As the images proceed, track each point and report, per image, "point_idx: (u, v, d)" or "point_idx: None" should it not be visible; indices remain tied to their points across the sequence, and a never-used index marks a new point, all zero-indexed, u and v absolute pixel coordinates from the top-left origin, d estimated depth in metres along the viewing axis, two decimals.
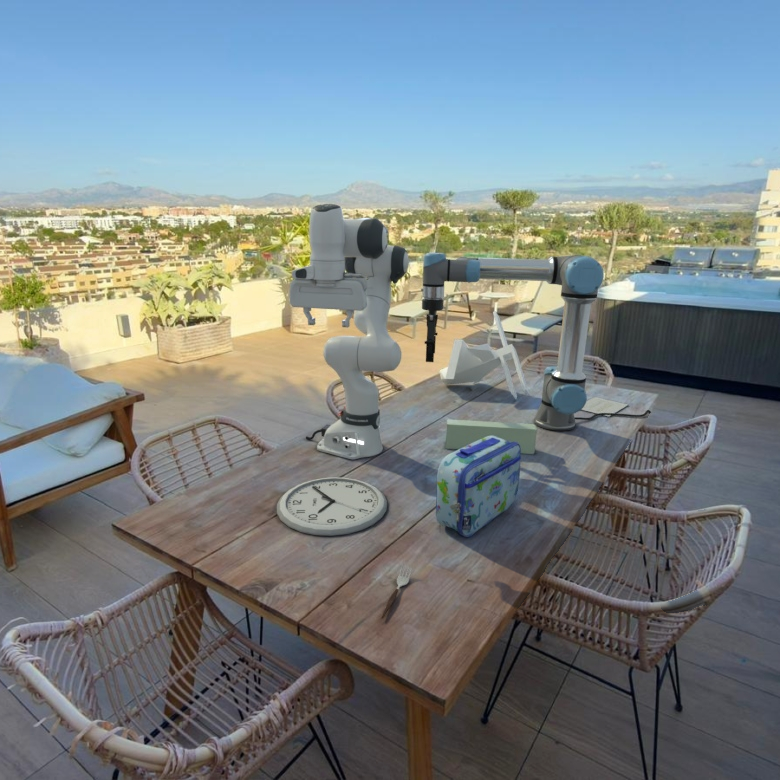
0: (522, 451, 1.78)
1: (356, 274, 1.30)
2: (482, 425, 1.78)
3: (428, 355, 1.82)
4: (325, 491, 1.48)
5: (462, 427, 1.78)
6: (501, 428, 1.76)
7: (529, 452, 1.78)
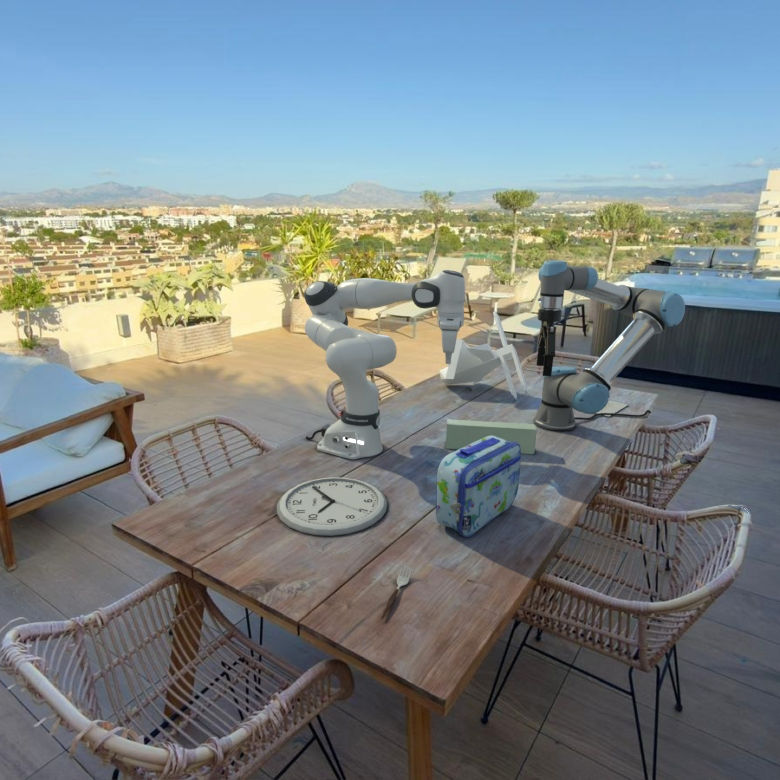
0: (522, 451, 1.78)
1: None
2: (482, 425, 1.78)
3: (546, 368, 1.72)
4: (325, 491, 1.48)
5: (462, 427, 1.78)
6: (501, 428, 1.76)
7: (529, 452, 1.78)
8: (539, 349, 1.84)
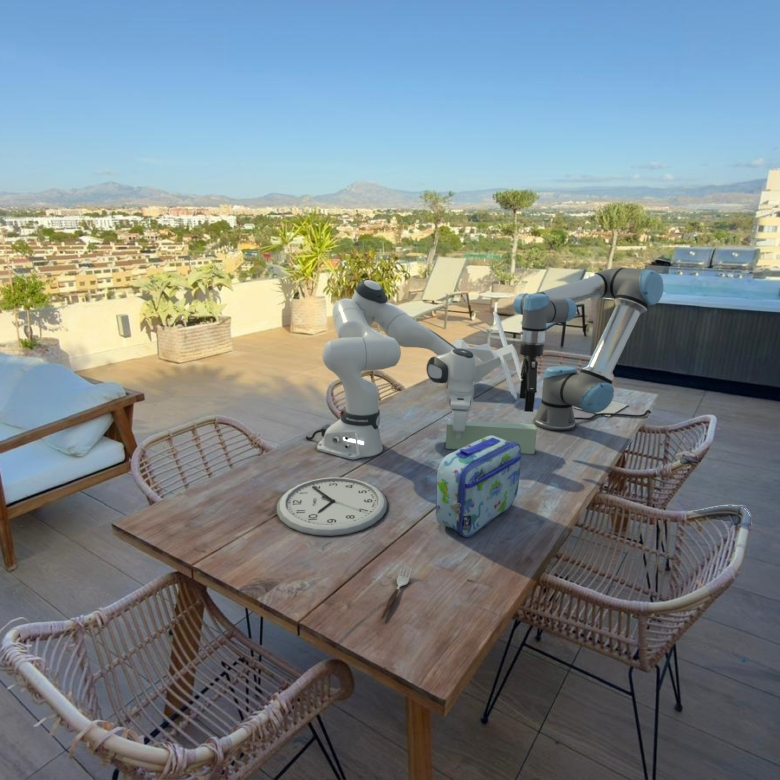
0: (522, 451, 1.78)
1: None
2: (482, 425, 1.78)
3: (528, 404, 1.68)
4: (325, 491, 1.48)
5: None
6: (501, 428, 1.76)
7: (529, 452, 1.78)
8: (522, 382, 1.80)
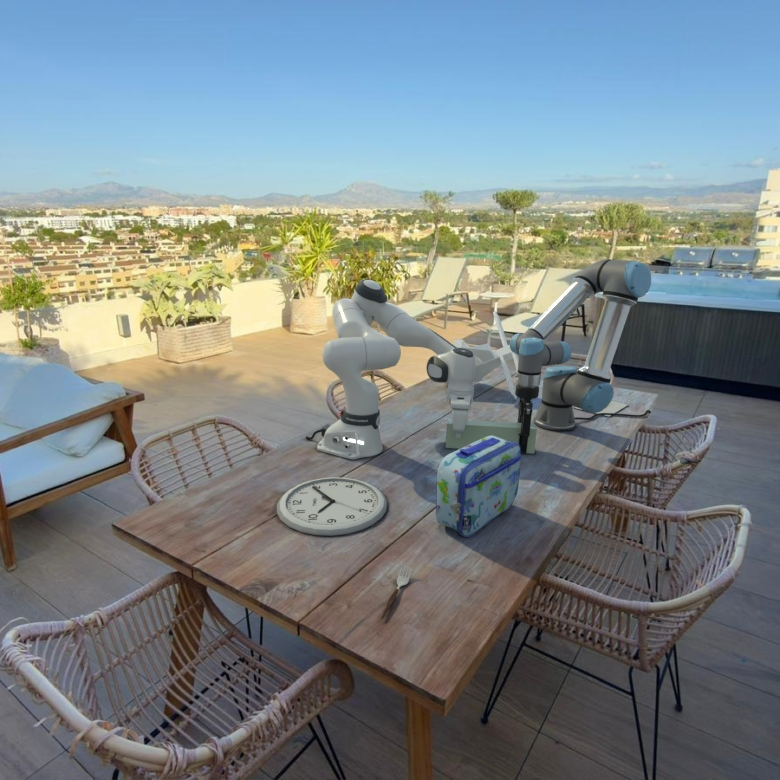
0: None
1: None
2: (482, 424, 1.78)
3: (521, 446, 1.76)
4: (325, 491, 1.48)
5: None
6: (501, 428, 1.76)
7: (529, 451, 1.78)
8: None
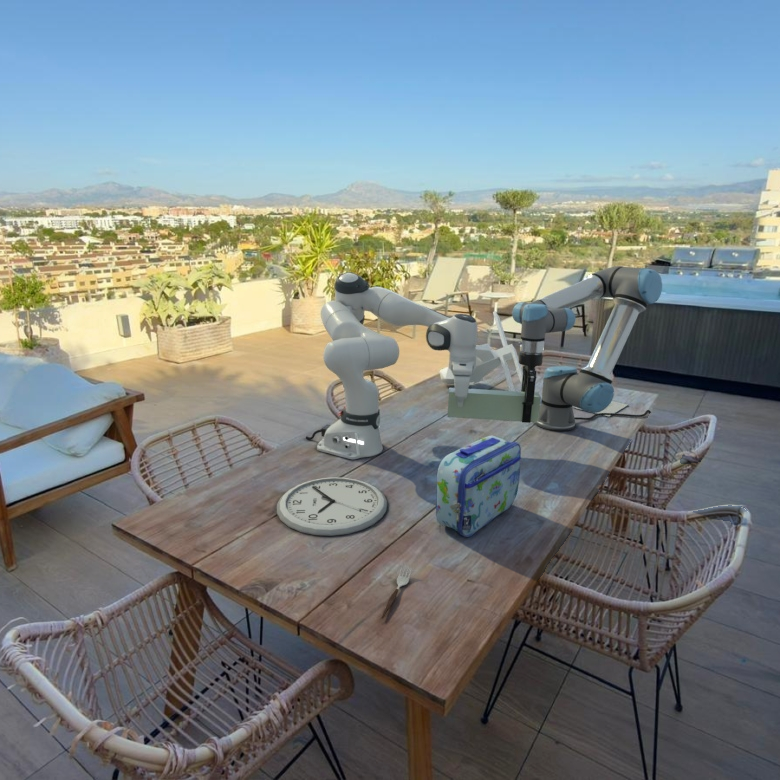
0: None
1: None
2: (485, 393, 1.74)
3: (525, 415, 1.73)
4: (325, 491, 1.48)
5: None
6: (504, 396, 1.73)
7: (533, 420, 1.74)
8: None
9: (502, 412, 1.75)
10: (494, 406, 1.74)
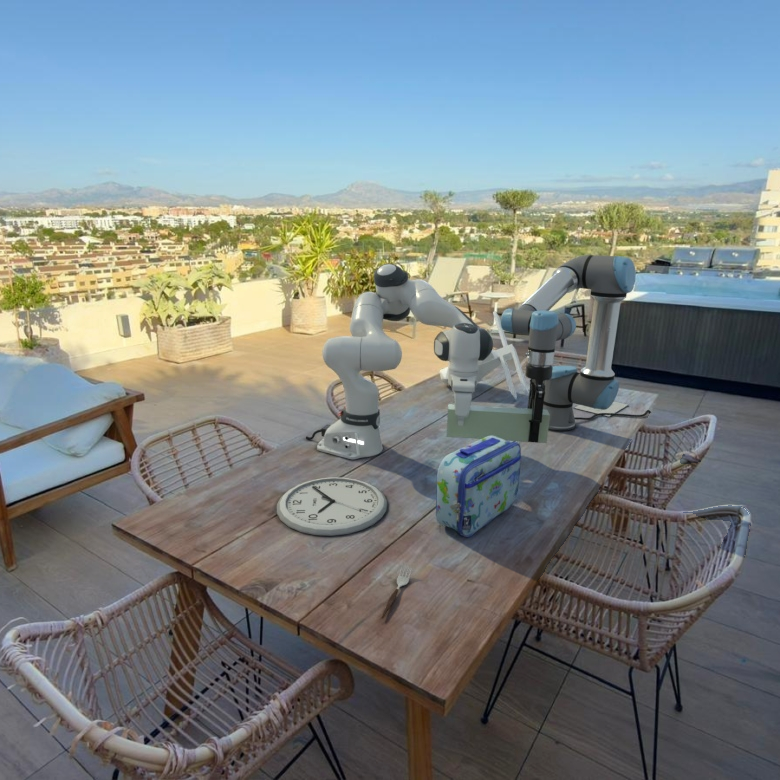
0: None
1: None
2: (488, 410, 1.57)
3: (532, 434, 1.56)
4: (325, 491, 1.48)
5: None
6: (509, 414, 1.56)
7: (541, 441, 1.57)
8: None
9: (507, 432, 1.57)
10: (498, 425, 1.57)
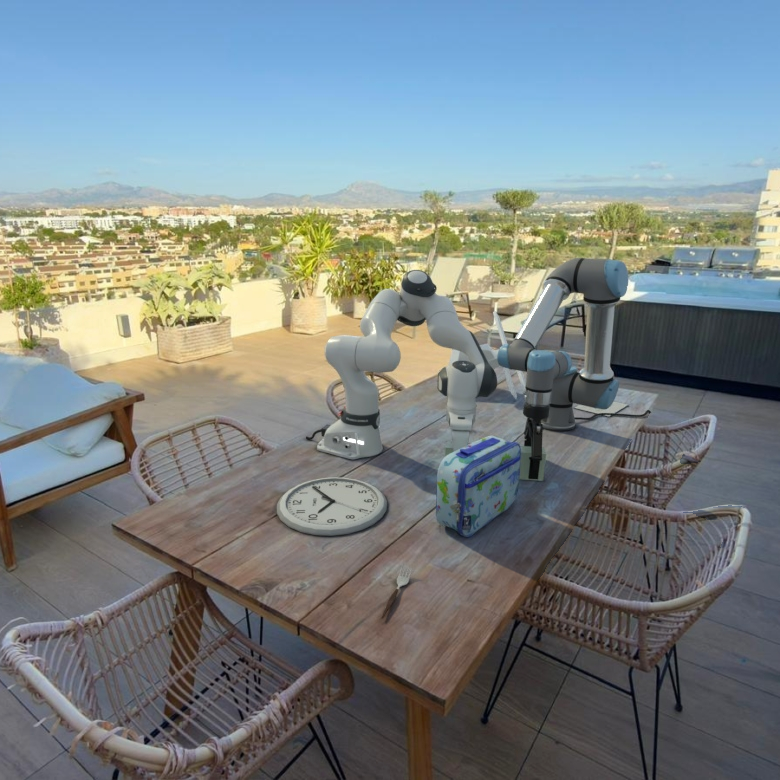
0: None
1: None
2: None
3: (532, 471, 1.53)
4: (325, 491, 1.48)
5: None
6: None
7: None
8: (525, 442, 1.65)
9: None
10: None
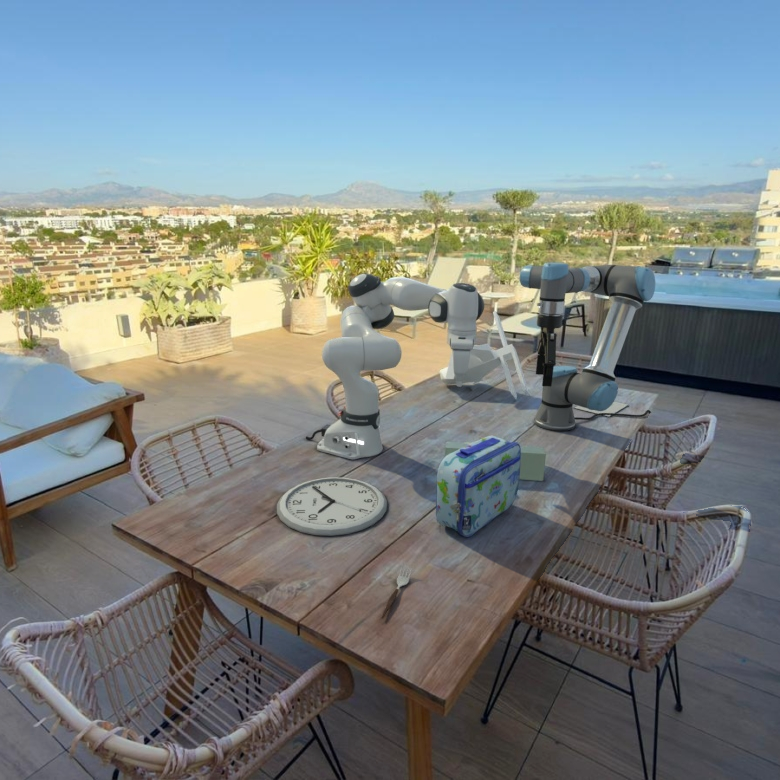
0: (529, 478, 1.59)
1: None
2: None
3: (546, 378, 1.61)
4: (325, 491, 1.48)
5: None
6: None
7: (537, 479, 1.59)
8: (538, 357, 1.73)
9: None
10: None
